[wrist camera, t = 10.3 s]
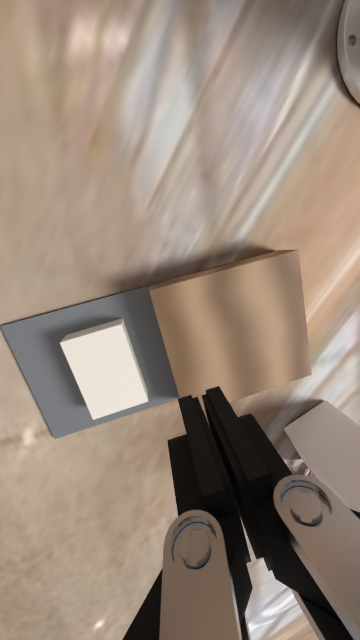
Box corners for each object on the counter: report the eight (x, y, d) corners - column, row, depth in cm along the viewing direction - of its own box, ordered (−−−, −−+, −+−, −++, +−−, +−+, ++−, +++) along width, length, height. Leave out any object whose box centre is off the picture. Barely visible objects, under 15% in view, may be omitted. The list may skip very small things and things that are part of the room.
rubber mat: (147, 285, 26) (147, 286, 26) (178, 396, 30) (179, 398, 30) (1, 325, 25) (0, 326, 25) (55, 437, 29) (54, 438, 28)
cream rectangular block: (59, 342, 24) (66, 334, 26) (93, 419, 26) (96, 406, 28) (121, 324, 24) (122, 318, 26) (148, 401, 27) (147, 389, 29)
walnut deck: (276, 250, 28) (298, 249, 24) (290, 360, 32) (311, 374, 28) (147, 285, 26) (149, 290, 23) (178, 396, 30) (185, 417, 27)
